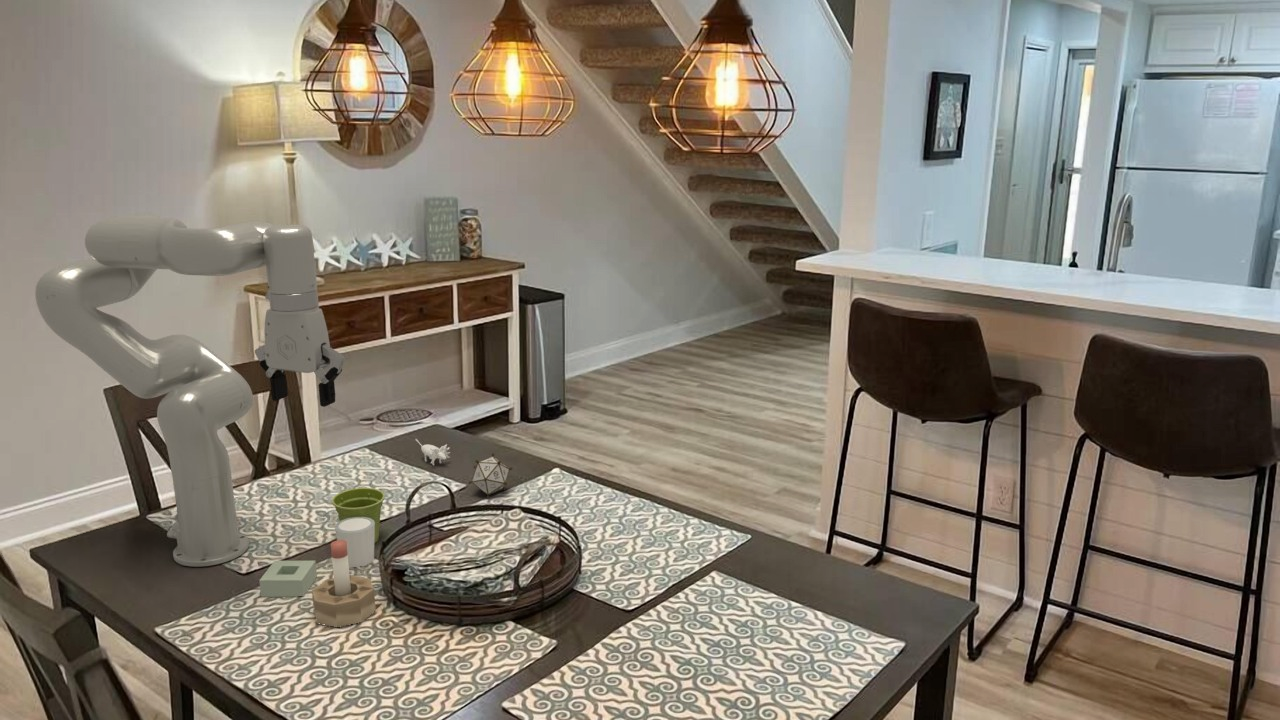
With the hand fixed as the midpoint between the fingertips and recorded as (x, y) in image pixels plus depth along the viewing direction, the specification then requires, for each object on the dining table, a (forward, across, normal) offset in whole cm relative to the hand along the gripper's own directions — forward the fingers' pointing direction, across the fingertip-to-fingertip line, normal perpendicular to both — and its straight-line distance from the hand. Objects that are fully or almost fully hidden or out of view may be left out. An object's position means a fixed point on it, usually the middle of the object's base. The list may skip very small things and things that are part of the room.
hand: (303, 401), depth 162 cm
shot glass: (+31, +5, +4) cm, 31 cm away
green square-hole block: (+30, 0, -8) cm, 31 cm away
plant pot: (+31, +1, +11) cm, 33 cm away
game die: (+31, +13, +39) cm, 51 cm away
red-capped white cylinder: (+30, +14, -12) cm, 36 cm away
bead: (+30, +14, -12) cm, 35 cm away
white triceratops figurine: (+31, -9, +51) cm, 60 cm away
